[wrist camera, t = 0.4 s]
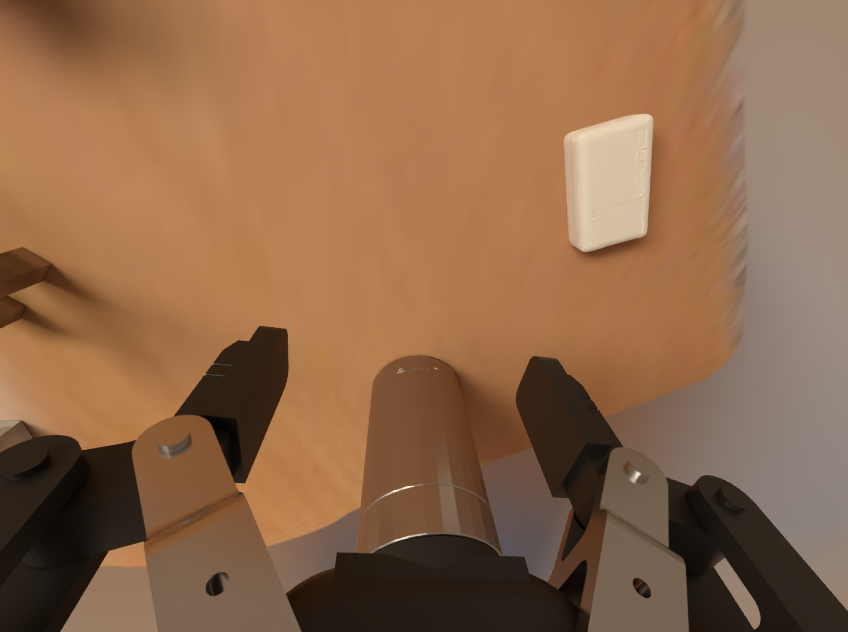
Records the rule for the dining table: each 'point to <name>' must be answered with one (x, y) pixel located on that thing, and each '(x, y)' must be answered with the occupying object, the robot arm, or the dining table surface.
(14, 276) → the wooden frame rack
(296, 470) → the dining table surface
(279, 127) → the dining table surface
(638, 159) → the soap
